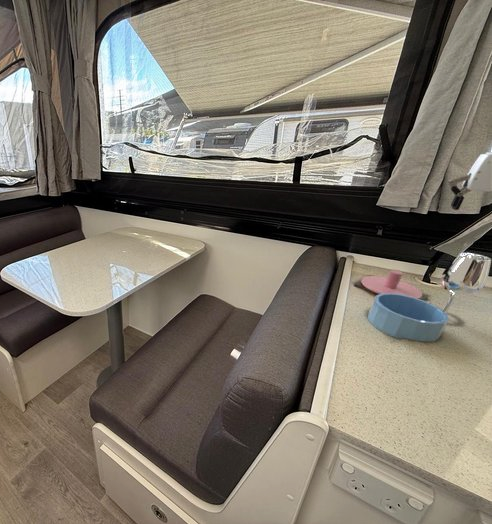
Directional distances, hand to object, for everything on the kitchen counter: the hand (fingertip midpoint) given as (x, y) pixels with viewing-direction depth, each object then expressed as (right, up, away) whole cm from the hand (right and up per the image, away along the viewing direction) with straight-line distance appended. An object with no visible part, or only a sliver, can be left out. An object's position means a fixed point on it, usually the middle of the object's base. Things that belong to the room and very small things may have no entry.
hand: (477, 210), depth 80 cm
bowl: (-28, -33, -5) cm, 44 cm away
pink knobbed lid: (-15, -24, +12) cm, 31 cm away
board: (-15, -26, +13) cm, 32 cm away
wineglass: (-13, -32, -2) cm, 35 cm away
